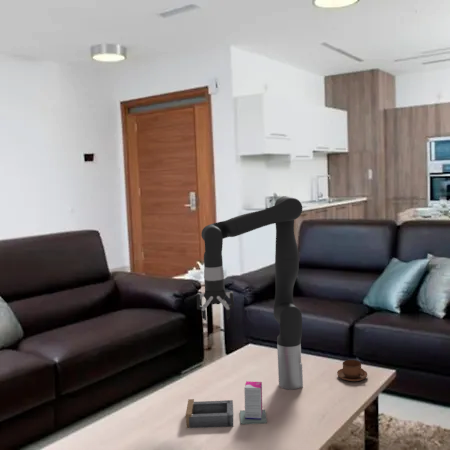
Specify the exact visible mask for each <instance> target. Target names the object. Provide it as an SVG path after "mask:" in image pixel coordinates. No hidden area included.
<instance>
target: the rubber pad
mask: <svg viewBox="0 0 450 450" xmlns="http://www.w3.org/2000/svg"><path fill="white" fill-rule="evenodd" d="M266 412H267V411H266V409H264V408H263V409H262V416H261V420H255V419H245V409H244V410H239V414H240V415H239V418H240V425H253V424H254V425H258V424H260V425H261V424H267V422H268V421H267V413H266Z"/></svg>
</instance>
